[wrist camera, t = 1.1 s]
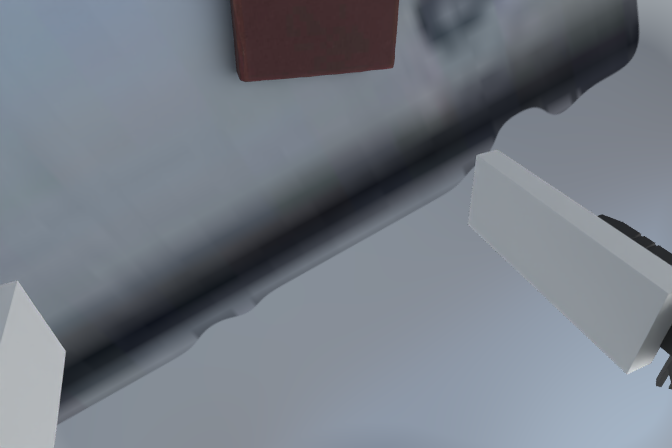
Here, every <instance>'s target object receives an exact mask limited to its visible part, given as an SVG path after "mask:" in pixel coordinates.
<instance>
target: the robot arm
mask: <svg viewBox="0 0 672 448" xmlns="http://www.w3.org/2000/svg"><path fill="white" fill-rule="evenodd" d="M468 225H469V226H470V227H471V228H472V229H473V230H474V231H475V232H476V233H477V234H478V235H480V237H482V238H483V239H484V240H485V241H486V242H487V243H488V244H489V245H490V246H491V247H492V248H493V249H494V250H495V251H496V252H497V253H499V254H500V255H501V256H502V257H503V258H504V259H505V260H506V261H507V262H508V263H509V264H510V265H511V266H512V267H514V268H515V269H516V270H517V271H518V272H519V273H520V274H521V275H522V276H523V277H524V278H525V279H526V280H527V281H528V282H529V283H530V284H532V285H533V286H534V287H535V288H536V289H537V290H538V291H539V292H540V293H541V294H542V295H543V296H544V297H546V299H547V300H548V301H550V302H551V303H552V304H553V305H554V306H555V307H556V308H557V309H558V310H559V311H560V312H561V313H562V314H563V315H564V316H565V317H567V318H568V319H569V320H570V321H571V322H572V323H573V324H574V325H575V326H576V327H577V328H578V329H579V330H580V331H581V332H583V333H584V334H585V335H586V336H587V337H588V338H589V339H590V340H591V341H592V342H593V343H594V344H595V345H596V346H597V347H598V348H599V349H601V350H602V351H603V352H604V353H605V354H606V355H607V356H608V357H609V358H610V359H611V360H612V361H613V362H614V363H615V364H617V365H618V366H619V367H620V368H621V369H622V370H623V371H624V372H625V373H626V374H628V373H631V372H633V371H635V370H637V369H639V368H642V367H644V366H646V365H648V364H650V363H651V362H652V361H653V359H654V357H655V355H656V353H657V352H658V350H659V348H660V347H661V348H662V349H664V350H665V351H666V352H667V353H668V354H670V357H669V358H668V360H667V362H666V363H665V365H664V367H663V368H662V370H661V372H660V373H659V375H658V377H657V379H656V386H659V387H662V385H663V383H664V382H665V380H666V379H667V377H668V375H669V376H670V380H671V384H670V386H669V389H672V254H671V253H670V252H668V251H667V250H665V249H664V248H662V247H661V246H659V245H658V246H656V245H655V243H654V242H653V241H651V240H650V239H648V238H647V237H645V236H643V237H642V236H641V234H640V233H639V232H637V231H636V230H634V229H633V228H631V227H629V226H628V225H627V224H625V223H623V222H620V221H618V220H616V219H613V218H610V217H608V216H605V215H599V216H596V215H595V214H593V213H592V212H590V211H589V210H587V209H586V208H584V207H583V206H581V205H580V204H578V203H577V202H575V201H573V200H572V199H571V198H569V197H568V196H566V195H565V194H563V193H562V192H560V191H559V190H557V189H556V188H554V187H553V186H551V185H549V184H548V183H547V182H545V181H544V180H542V179H541V178H539V177H538V176H536V175H535V174H533V173H532V172H530V171H529V170H527V169H525V168H524V167H523V166H521V165H520V164H518V163H517V162H515V161H514V160H512V159H511V158H509V157H508V156H506V155H505V154H503V153H502V152H500V151H499V150H493V151H490V152H486V153H482V154H479V155H477V156H476V164H475V172H474V180H473V188H472V195H471V203H470V211H469V219H468ZM65 353H66V351H65V350H64V348H63V347H62V345H61V344H60V342H59V341H58V339H57V338H56V336H55V335H54V333H53V332H52V330H51V329H50V328H49V326H48V325H47V323H46V322H45V320H44V319H43V317H42V316H41V314H40V313H39V311H38V310H37V308H36V307H35V306H34V304H33V303H32V301H31V300H30V298H29V297H28V295H27V294H26V292H25V291H24V289H23V288H22V286H21V285H20V284H19V282H18V281H13V282H10V283H6V284H2V285H0V448H54V443H55V436H56V428H57V419H58V411H59V403H60V394H61V386H62V378H63V369H64V361H65Z"/></svg>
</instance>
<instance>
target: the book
mask: <svg viewBox="0 0 672 448" xmlns="http://www.w3.org/2000/svg"><path fill="white" fill-rule="evenodd" d="M230 4H231V15H232V24H233V33H234V46H235V58H236V69H237V73H238V76H239V78H240V80H241V81H244V82H252V81H261V80H276V79H288V78H298V77H312V76H320V75H332V74H343V73H353V72H363V71H369V70H380V69H389V68H393V66H394V60H395V44H396V34H397V21H398V7H399V0H230Z"/></svg>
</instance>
